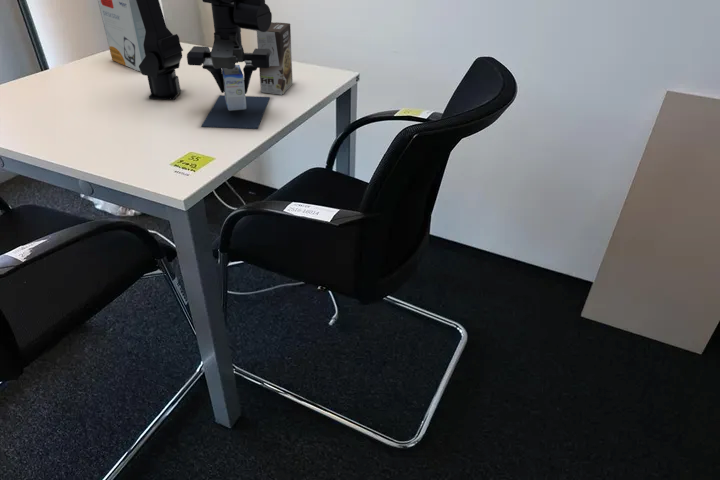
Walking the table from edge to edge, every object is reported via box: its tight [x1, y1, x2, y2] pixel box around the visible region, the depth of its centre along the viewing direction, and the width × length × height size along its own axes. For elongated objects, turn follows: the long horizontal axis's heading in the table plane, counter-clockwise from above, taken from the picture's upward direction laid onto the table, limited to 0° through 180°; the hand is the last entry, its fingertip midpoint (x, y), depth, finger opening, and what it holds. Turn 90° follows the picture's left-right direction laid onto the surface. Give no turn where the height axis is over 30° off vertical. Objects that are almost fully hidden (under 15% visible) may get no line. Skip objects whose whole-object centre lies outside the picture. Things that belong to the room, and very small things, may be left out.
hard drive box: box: [97, 0, 146, 73], centre depth 152 cm, size 16×8×20 cm, turn 53°
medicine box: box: [221, 64, 246, 111], centre depth 129 cm, size 8×4×9 cm, turn 17°
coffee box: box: [256, 21, 293, 96], centre depth 141 cm, size 9×6×16 cm
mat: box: [200, 95, 271, 130], centre depth 132 cm, size 13×19×1 cm
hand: (234, 92), depth 129 cm, fingers closed on medicine box, 5 cm apart
